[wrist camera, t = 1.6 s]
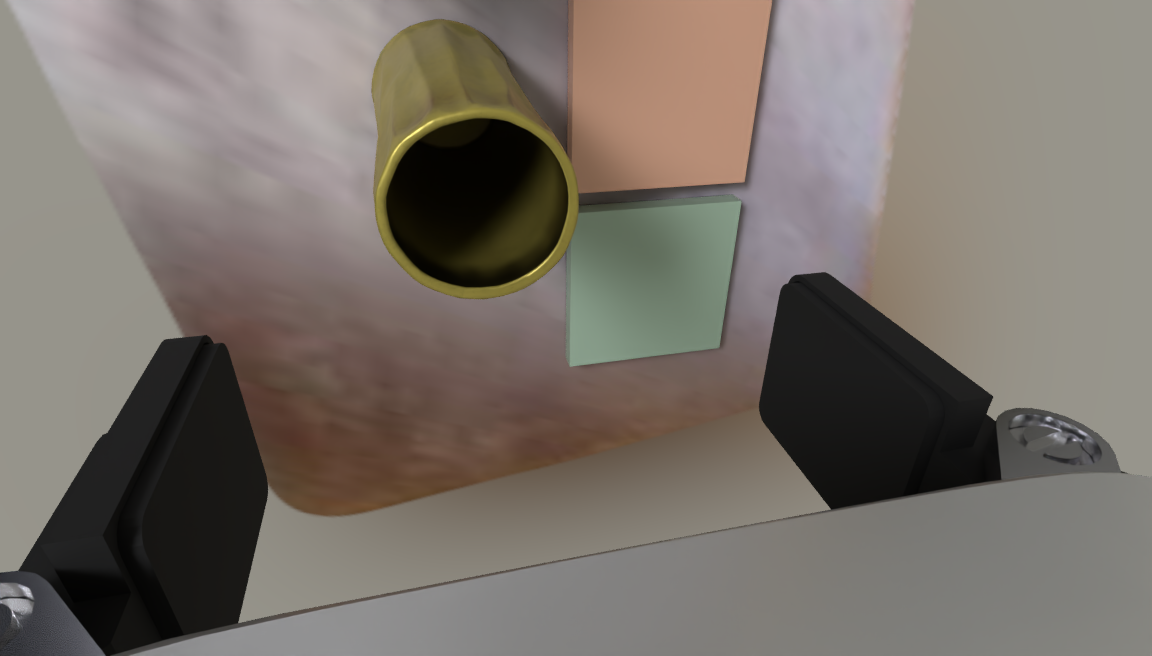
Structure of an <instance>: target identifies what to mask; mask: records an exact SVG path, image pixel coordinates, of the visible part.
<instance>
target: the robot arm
mask: <svg viewBox="0 0 1152 656" xmlns="http://www.w3.org/2000/svg"><path fill="white" fill-rule="evenodd" d="M992 399H993V396H992V395H990V394H989V393H988V392H987V391H985V390H984V389H983V388H981V387H980V386H978V385H977V384H976V383H975V382H973V381H972V380H970V379H969V378H968V377H967V376H965V375H964V374H962V373H961V372H960V371H958V370H957V369H956V368H954V367H953V366H952V365H950V364H949V363H948V362H946V361H945V360H944V359H942V358H941V357H940V356H938V355H937V354H936V353H934V352H933V351H932V350H930V349H929V348H928V347H926V346H925V345H924V344H922V343H921V342H920V341H918V340H917V339H916V338H914V337H913V336H911V335H910V334H909V333H907V332H906V331H905V330H903V329H902V328H901V327H899V326H898V325H897V324H895V323H894V322H892V321H891V320H890V319H889V318H887V317H886V316H885V315H883V314H882V313H881V312H879V311H878V310H876V309H875V308H874V307H873V306H871V305H870V304H869V303H867V302H866V301H865V300H863V299H862V298H861V297H859V296H858V295H857V294H855V293H854V292H853V291H851V290H850V289H849V288H847V287H846V286H845V285H843V284H842V283H840V282H839V281H838V280H836V279H835V278H834V277H832V276H831V275H830V274H828V273H826V272H822V273H812V274H802V275H795V276H793V277H792V278H791V279H790V281H789V283H788V284H785V285H784V286H783V287H782V289H781V291H780V295H779V301H778V306H777V311H776V317H775V322H774V327H773V333H772V338H771V343H770V349H769V354H768V359H767V365H766V370H765V375H764V381H763V386H762V391H761V397H760V402H759V411H760V415H761V418H762V421H763V422H764V424H765V425H766V426H767V428H768V429H769V430H770V432H771V433H772V434H773V435H774V436H775V438H776V439H777V441H778V442H779V443H780V444H781V446H782V447H783V448H784V450H785V451H786V452H787V453H788V455H789V456H790V457H791V458H792V460H793V461H794V462H795V463H796V465H797V466H798V467H799V469H800V470H801V471H802V473H803V474H804V475H805V476H806V478H807V479H808V480H809V481H810V483H811V484H812V485H813V487H814V488H815V489H816V491H817V492H818V493H819V494H820V496H821V497H822V498H823V500H824V501H825V502H826V503H827V504H828V506H829V507H830V508H831V510H827V511H822V512H816V513H811V514H805V515H799V516H794V517H788V518H783V519H777V520H772V521H766V522H761V523H755V524H751V525H744V526H739V527H734V528H729V529H723V530H718V531H712V532H707V533H701V534H696V535H692V536H686V537H680V538H675V539H669V540H664V541H659V542H653V543H648V544H643V545H637V546H633V547H627V548H621V549H616V550H611V551H606V552H601V553H595V554H589V555H584V556H579V557H573V558H568V559H563V560H558V561H552V562H548V563H542V564H537V565H531V566H526V567H521V568H516V569H511V570H506V571H500V572H495V573H490V574H485V575H480V576H475V577H469V578H464V579H459V580H454V581H449V582H444V583H438V584H433V585H428V586H423V587H418V588H413V589H407V590H402V591H397V592H392V593H386V594H381V595H376V596H371V597H366V598H361V599H355V600H350V601H345V602H340V603H335V604H329V605H324V606H319V607H314V608H309V609H303V610H298V611H293V612H288V613H282V614H278V615H274V616H269V617H264V618H260V619H255V620H251V621H247V622H242V623H238V621H239V617H240V613H241V608H242V604H243V600H244V595H245V591H246V587H247V583H248V578H249V574H250V570H251V566H252V561H253V557H254V553H255V548H256V544H257V540H258V536H259V531H260V527H261V523H262V519H263V515H264V510H265V506H266V502H267V496H268V483H267V477H266V473H265V469H264V466H263V463H262V460H261V456H260V453H259V450H258V447H257V443H256V440H255V437H254V433H253V430H252V427H251V424H250V420H249V417H248V414H247V411H246V407H245V404H244V401H243V397H242V394H241V391H240V388H239V384H238V381H237V378H236V375H235V371H234V368H233V365H232V361H231V358H230V355H229V352H228V349H227V347H226V346H225V344H223V343H217V344H214V343H213V341H212V340H211V338H210V337H209V336H207V335H204V336H194V337H184V338H174V339H166V340H164V341H163V342H162V343H161V344H160V346H159V348H158V349H157V351H156V353H155V354H154V356H153V358H152V360H151V361H150V363H149V364H148V366H147V368H146V370H145V371H144V373H143V375H142V376H141V378H140V379H139V381H138V383H137V384H136V386H135V388H134V390H133V391H132V393H131V395H130V396H129V398H128V399H127V401H126V403H125V405H124V406H123V408H122V409H121V411H120V413H119V415H118V416H117V418H116V420H115V421H114V423H113V425H112V426H111V428H110V430H109V431H108V433H106V434H104V435H102V437H101V438H100V439H99V440H98V441H97V443H96V444H95V446H94V447H93V449H92V451H91V452H90V454H89V455H88V457H87V459H86V460H85V462H84V464H83V465H82V467H81V469H80V470H79V472H78V474H77V475H76V477H75V478H74V480H73V482H72V483H71V485H70V487H69V488H68V490H67V492H66V493H65V495H64V497H63V498H62V500H61V502H60V503H59V505H58V506H57V508H56V510H55V511H54V513H53V515H52V516H51V518H50V520H49V521H48V523H47V524H46V526H45V528H44V529H43V531H42V533H41V535H40V536H39V538H38V539H37V541H36V543H35V544H34V546H33V548H32V549H31V551H30V553H29V554H28V556H27V557H26V559H25V561H24V562H23V564H22V566H21V567H20V569H19V570H18V571H11V572H1V573H0V656H1152V477H1149V476H1142V475H1134V474H1128V473H1125V472H1122V471H1120V468H1119V465H1118V462H1117V459H1116V455H1115V453H1114V451H1113V450H1112V448H1111V447H1110V445H1109V444H1108V443H1107V442H1106V441H1105V440H1104V439H1103V438H1102V437H1101V436H1100V435H1099V434H1098V433H1096V432H1094V431H1093V430H1091V429H1090V428H1088V427H1086V426H1085V425H1083V424H1081V423H1079V422H1077V421H1075V420H1072V419H1070V418H1068V417H1066V416H1063V415H1059V414H1056V413H1052V412H1049V411H1045V410H1039V409H1033V408H1015V409H1011V410H1007V411H1004V412H1003V413H1001V414H1000V415H999V416H998V417H997V420H996V421H994V420H993V419H992V418H991V417H989V416H988V415H987V414H986V413H987V411H988V408H989V406H990V403H991V401H992Z"/></svg>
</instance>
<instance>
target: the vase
mask: <svg viewBox="0 0 1152 656" xmlns="http://www.w3.org/2000/svg"><path fill="white" fill-rule="evenodd" d="M372 98H373V102H374V107H375V115H376V121H377V129H378V141H377V150H376V161H375V174H374V187H373V194H374V202H375V215H376V221H377V225H378V229H379V233H380V235H381V238H382V240H383V243H384V245H385V246H386V248H387V250H388V252H389V253H390V254H391V256H392V257H393V258H394V259H395V260H396V261H397V263H398V264H399V265H400V266H401V267H402V268H403V269H404V270H405V271H406V272H407V273H408V274H409V275H410V276H411V277H412V278H413V279H415V280H416V281H417V282H419V283H420V284H422V285H424V286H426V287H428V288H430V289H432V290H435V291H438V292H441V293H444V294H446V295H450V296H454V297H458V298H465V299H488V298H494V297H500V296H504V295H508V294H511V293H514V292H517V291H519V290H521V289H524V288H526V287H527V286H529V285H531V284H533V283H534V282H536V281H537V280H539V279H540V278H541V277H543V276H544V275H545V274H546V273H547V272H549V271H550V270H551V269H552V268H553V267H554V266H555V265H556V264H557V263H558V262H559V260H560V259H561V258H562V257H563V255H564V253H565V252H566V250H567V248H568V246H569V244H570V241H571V239H572V236H573V234H574V231H575V228H576V225H577V220H578V213H579V191H578V182H577V177H576V173H575V170H574V168H573V165H572V163H571V161H570V159H569V158H568V156H567V154H566V152H565V151H564V149H563V147H562V145H561V144H560V142H559V141H558V140H557V138H556V137H555V135H554V133H553V132H552V130H551V129H550V128H549V127H548V126H547V124H546V123H545V122H544V121H543V120H542V118H541V117H540V116H539V114H538V113H537V112H536V111H535V109H534V108H533V106H532V105H531V103H530V102H529V100H528V99H527V97H526V96H525V94H524V92H523V91H522V89H521V88H520V86H519V85H518V83H517V82H516V80H515V78H514V77H513V75H512V74H511V71H510V68H509V66H508V63H507V61H506V59H505V57H504V56H503V55H502V53H501V52H500V51H499V49H498V48H497V47H496V46H495V45H494V44H493V43H492V42H491V41H490V40H489V39H488V38H487V37H486V36H485V35H483V34H482V33H481V32H479V31H478V30H476V29H474V28H472V27H470V26H468V25H466V24H462V23H459V22H455V21H450V20H444V19H435V20H429V21H425V22H421V23H418V24H415V25H412V26H409V27H407V28H406V29H404V30H402V31H401V32H399V33H398V34H397V35H396V36H394V37H393V38H392V39H391V40H390V41H389V43H388V44H387V45H386V46H385V47H384V49H383V50H382V52H381V54H380V56H379V58H378V60H377V63H376V66H375V69H374V73H373V78H372Z"/></svg>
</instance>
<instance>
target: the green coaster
mask: <svg viewBox="0 0 1152 656" xmlns="http://www.w3.org/2000/svg"><path fill="white" fill-rule="evenodd" d="M741 202H742V201H741V200H740V199H738V198H737V197H736V196H734V195H720V196H706V197H692V198H678V199H664V200H651V201H637V202H623V203H609V204H595V205H581V206H579V213H578V220H577V225H576V228H575V231H574V234H573V236H572V239H571V241H570V244H569V246H568V248H567V251H566V359H567V361H568V364H569V366H578V365H586V364H594V363H602V362H610V361H618V360H626V359H634V358H642V357H650V356H658V355H666V354H674V353H682V352H690V351H698V350H707V349H715V348H719V346H720V339H721V333H722V326H723V319H724V313H725V306H726V300H727V293H728V287H729V280H730V274H731V267H732V261H733V254H734V247H735V241H736V234H737V228H738V221H739V215H740V208H741Z"/></svg>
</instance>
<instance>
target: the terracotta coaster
mask: <svg viewBox="0 0 1152 656" xmlns="http://www.w3.org/2000/svg"><path fill="white" fill-rule="evenodd" d="M771 5H772V0H568V112H567V156H568V158H569V159H570V161H571V163H572V165H573V168H574V170H575V173H576V177H577V182H578V191H579V193H592V192H607V191H622V190H636V189H651V188H666V187H681V186H695V185H710V184H725V183H739V182H745V175H746V169H747V162H748V156H749V149H750V143H751V136H752V130H753V123H754V116H755V110H756V103H757V97H758V90H759V84H760V77H761V71H762V64H763V58H764V51H765V44H766V38H767V31H768V25H769V18H770V12H771Z"/></svg>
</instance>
